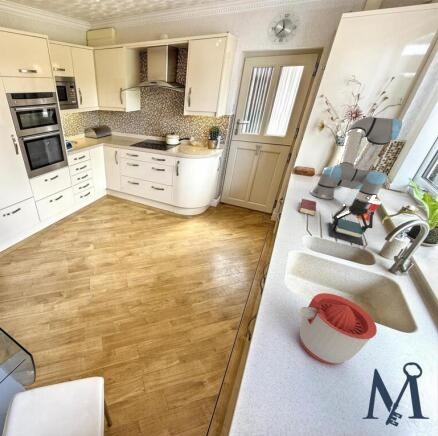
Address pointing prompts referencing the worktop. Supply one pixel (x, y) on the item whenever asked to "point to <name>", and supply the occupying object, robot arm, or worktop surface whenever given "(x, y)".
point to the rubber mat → (344, 236)
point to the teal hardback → (349, 228)
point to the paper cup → (371, 208)
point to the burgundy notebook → (307, 207)
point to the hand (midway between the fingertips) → (345, 232)
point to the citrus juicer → (334, 328)
